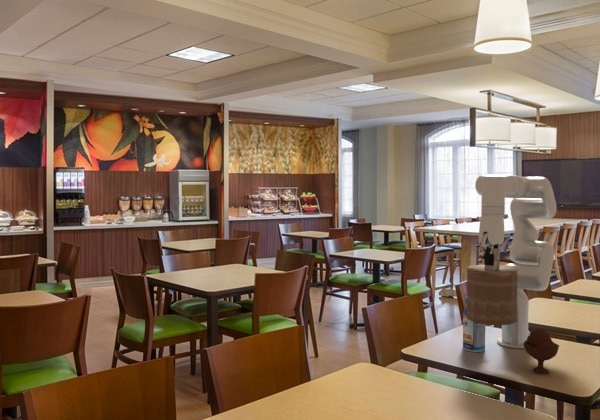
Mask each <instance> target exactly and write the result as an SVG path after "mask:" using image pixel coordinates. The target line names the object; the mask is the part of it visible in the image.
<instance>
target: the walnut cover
mask: <svg viewBox="0 0 600 420" xmlns="http://www.w3.org/2000/svg"><path fill="white" fill-rule="evenodd" d="M500 249H501V248H500ZM500 249H496V248H493V254H494V265H493V266H490V265H485V264H476V265H474V264H473V265H469V266H467V267H466V275H467V276H466V296H467V306H466V307H467V319H468V320H471V321H473V322H476V323H481V324H485V325H486V326H502V325H511V324H513V323H515V322H517V279H518V270H517V269H515V268H512V267H507V266H504V265H500V264H499V259H500V260H501V257H500V256H501V251H500Z"/></svg>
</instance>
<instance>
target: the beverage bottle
mask: <svg viewBox="0 0 600 420" xmlns="http://www.w3.org/2000/svg"><path fill="white" fill-rule="evenodd" d="M464 304H465V306H466V307H465V308H464V310H463V312H462V313H463V314H462V316H463V319H462V349H463V350H466V351H467V352H472V353H481V352H484V351H485V350H486V326H487V325H485V324H481V323H476V322H473V321H471V320H468V319H467V295H466V296H465V300H464Z"/></svg>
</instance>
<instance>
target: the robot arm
mask: <svg viewBox="0 0 600 420" xmlns="http://www.w3.org/2000/svg"><path fill="white" fill-rule="evenodd" d="M474 186H475V187H474V188H475V191H476V193H478V195H480V196H481V205H480V206H481V213H480V222H479V229H478V231H479V232H478V243H479V244H480V247H481V248H482V249H483V254H484V256H483V258H484V259H483V260H484V261H483V262H484V263H483V265H490V266H493V265H494V254H493V248H496V249H500V252H501V250H502V249H501V248H502V245H503V244H504V242H505V241H504V240H505V220H504V217H505V212H506V211H505V209H506V208H505V205H506V204H505V203H506V199H512V200H511V202H510V205H509V206H510V207H509V209H510V214H511V219H512V223H513V226H514V233H513V236H512V241H511V246H510V250H509V258H510V260H511V261H512V262H511V263H506V264H504V265H503V266H507V267H512V268H515V269H517V270H518V279H517V322H515V323H513V324H511V325H501V337H498V338H497V344H499V345H500V346H503V347H506V348H510V349H520V350H521V349H525V348H524V341H525V340H527V337H528V335H530V332H531V331H530V330H529V311H530V310H529V308H530V307H529V305H530V303H529V301H530V300H529V298H528V296H527V293H526V292H525V291H524V290H530V291H536V292H538V291H539V292H543V291H546V289H548V287H549V284H550V280H551V274H552V269H553V266H554V259H555V249H554V246H553V244H552V243H551V242H548V241H543V240H537V237H538V230H537V228H536V226H535V225H534V224H533V223H532V222H531V221H530V220H529V219H539V220H550V219H552V218H554V217H556V213H557V202H556V198H555V193H554V190H553V186H552V184H551V182H550V180H549V179H548V178H547V177H545V176H520V175H514V174H481V175H479V176H478V177H477V178H476V181H475V185H474ZM500 262H501V258H500V259H499V265H500Z"/></svg>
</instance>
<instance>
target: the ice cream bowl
mask: <svg viewBox="0 0 600 420" xmlns="http://www.w3.org/2000/svg"><path fill="white" fill-rule="evenodd" d="M559 347H560V345H559V344H557V343H555V341H553V340H552V337H551V336H550V333H549V332H548V331H547V330H546V329H544V328H542V327H536V328H534V329H532V330H531V331H530V335H528V337H527V340H525V341H524V348H523V349H524V351H525V352H526V353H527V354H528V355H529V356H530V357H532V358H533V359H535V360H536V361H537V366H536V367H535V366H534V367H532V370H531V373H533V374H535V373H536V375H539V374H540V375H541V376H547V375H549V374H550V370H549V369H547V368H546V367H544V363H545V361H549V360H551V359H553V358H555V357H556V356H557V354H558V352H559V349H560V348H559Z"/></svg>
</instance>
